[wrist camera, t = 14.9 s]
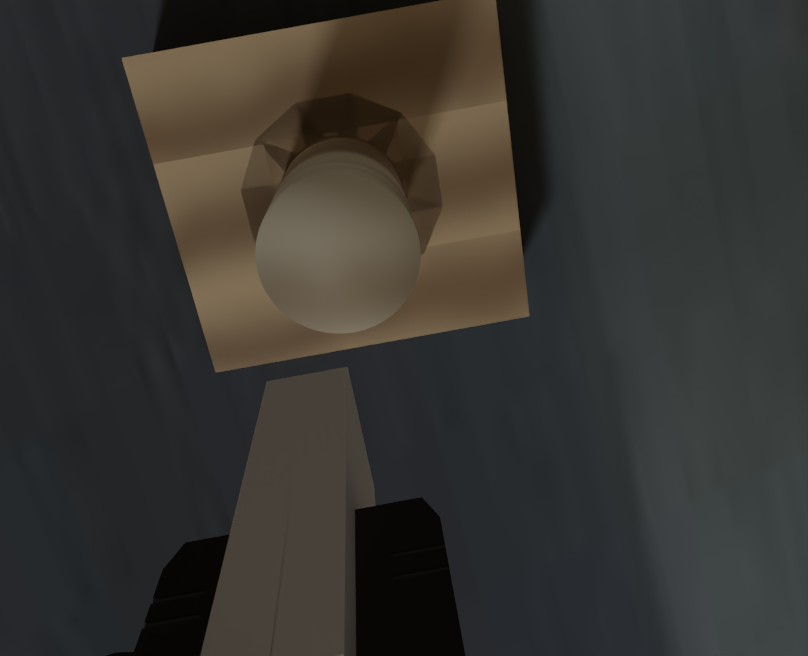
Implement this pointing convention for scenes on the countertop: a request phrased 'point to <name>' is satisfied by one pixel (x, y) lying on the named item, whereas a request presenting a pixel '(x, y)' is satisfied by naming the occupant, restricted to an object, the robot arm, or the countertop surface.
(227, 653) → the robot arm
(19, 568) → the countertop surface
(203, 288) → the block
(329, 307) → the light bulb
